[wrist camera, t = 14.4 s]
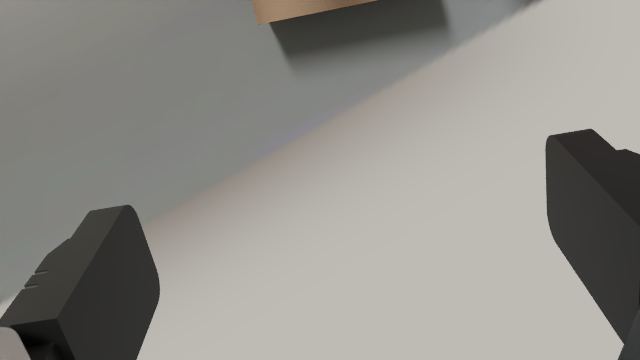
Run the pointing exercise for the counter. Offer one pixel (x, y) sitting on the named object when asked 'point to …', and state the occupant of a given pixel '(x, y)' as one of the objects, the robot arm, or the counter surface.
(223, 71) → the counter surface
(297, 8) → the brown wooden parallel rails
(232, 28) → the counter surface
